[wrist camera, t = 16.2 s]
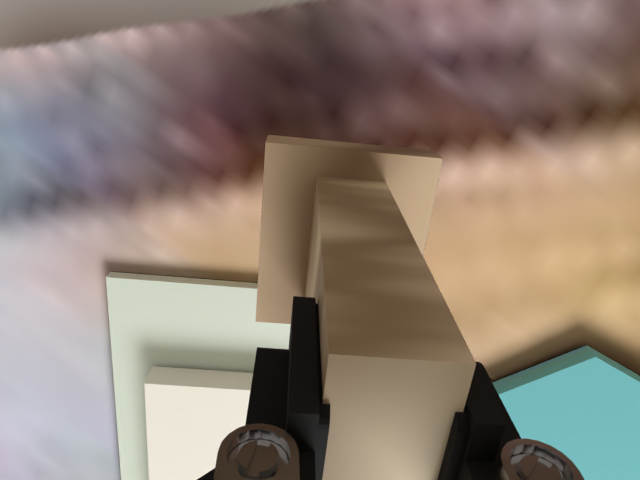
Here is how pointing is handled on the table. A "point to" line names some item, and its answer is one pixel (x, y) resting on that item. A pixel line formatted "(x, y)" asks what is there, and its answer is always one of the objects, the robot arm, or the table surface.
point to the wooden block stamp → (365, 299)
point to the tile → (191, 418)
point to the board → (176, 342)
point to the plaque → (580, 411)
